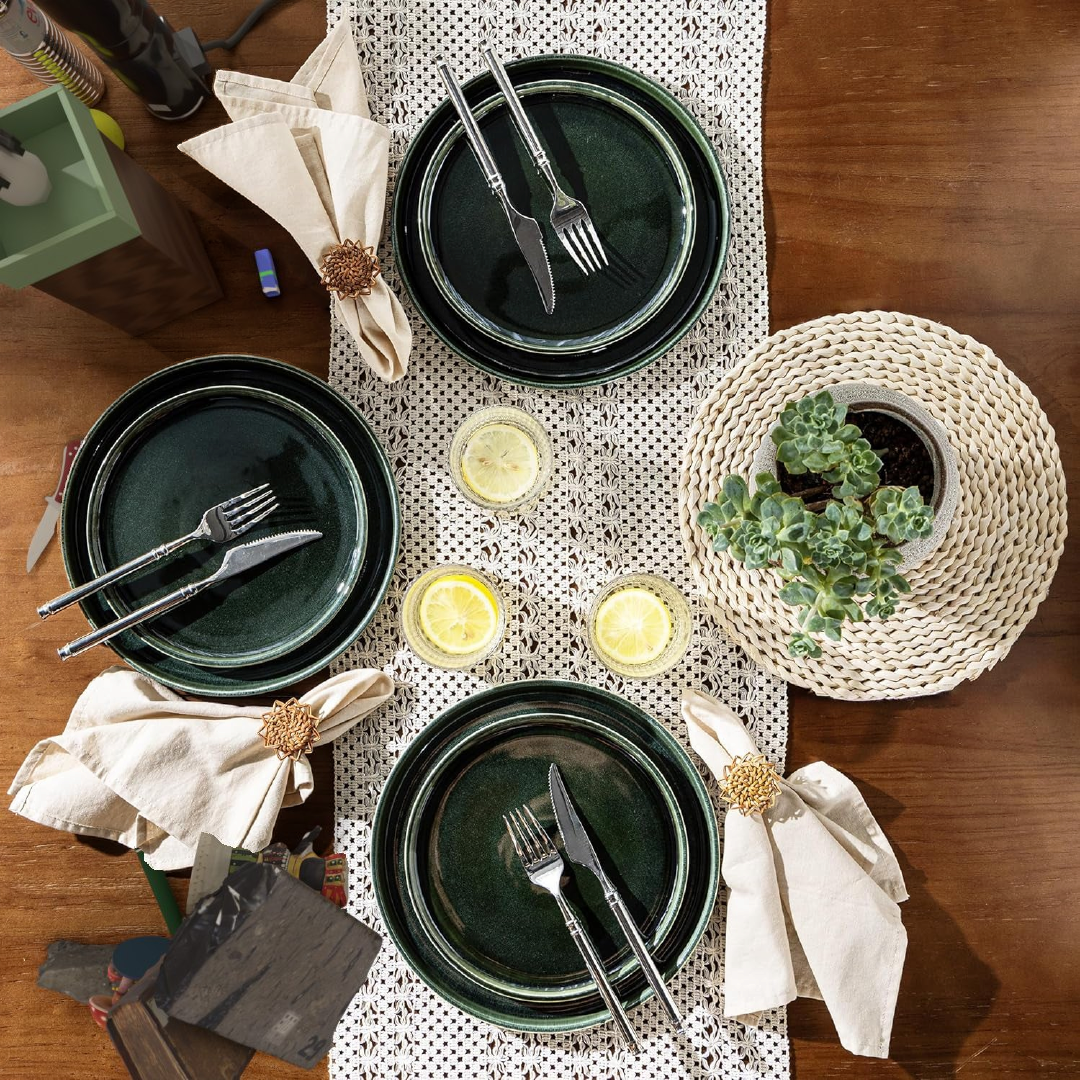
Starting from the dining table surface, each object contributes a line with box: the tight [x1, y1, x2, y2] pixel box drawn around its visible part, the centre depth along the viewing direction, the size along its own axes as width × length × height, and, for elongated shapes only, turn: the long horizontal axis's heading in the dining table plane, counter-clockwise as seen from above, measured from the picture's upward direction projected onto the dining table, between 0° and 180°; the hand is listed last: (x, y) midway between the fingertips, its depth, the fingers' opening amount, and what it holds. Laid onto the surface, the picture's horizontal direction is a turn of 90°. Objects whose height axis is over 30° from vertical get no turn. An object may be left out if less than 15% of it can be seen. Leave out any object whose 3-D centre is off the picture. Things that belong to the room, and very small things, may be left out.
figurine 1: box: [88, 935, 172, 1030], centre depth 106 cm, size 12×9×8 cm
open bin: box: [0, 82, 142, 291], centre depth 88 cm, size 16×16×5 cm
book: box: [105, 953, 258, 1080], centre depth 101 cm, size 17×7×25 cm, turn 25°
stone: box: [35, 939, 134, 1006], centre depth 110 cm, size 18×9×10 cm
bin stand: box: [29, 128, 225, 337], centre depth 102 cm, size 14×14×24 cm
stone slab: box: [154, 862, 384, 1072], centre depth 101 cm, size 18×9×30 cm
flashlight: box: [134, 847, 187, 938], centre depth 112 cm, size 5×5×20 cm
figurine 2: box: [185, 825, 350, 915], centre depth 109 cm, size 12×15×20 cm
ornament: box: [89, 108, 125, 151], centre depth 110 cm, size 7×7×10 cm
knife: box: [26, 440, 84, 574], centre depth 114 cm, size 20×1×3 cm
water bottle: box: [0, 0, 106, 109], centre depth 103 cm, size 7×7×25 cm
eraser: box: [254, 248, 281, 298], centre depth 113 cm, size 2×6×2 cm
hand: (10, 165), depth 80 cm, fingers closed on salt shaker, 3 cm apart
